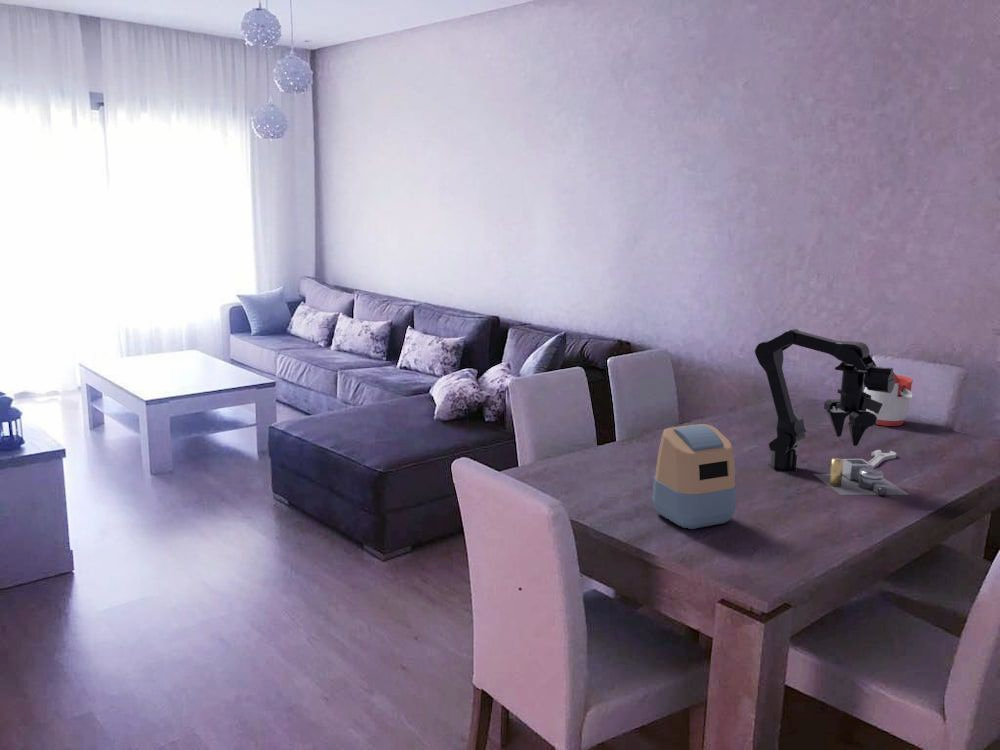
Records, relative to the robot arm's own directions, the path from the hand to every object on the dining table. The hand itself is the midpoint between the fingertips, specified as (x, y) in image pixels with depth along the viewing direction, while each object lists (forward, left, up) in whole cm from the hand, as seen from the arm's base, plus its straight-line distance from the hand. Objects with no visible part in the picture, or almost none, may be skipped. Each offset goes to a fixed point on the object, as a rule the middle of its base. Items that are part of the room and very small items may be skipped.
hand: (846, 441), depth 228 cm
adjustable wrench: (+18, +19, -13) cm, 29 cm away
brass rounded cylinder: (-4, -3, -12) cm, 13 cm away
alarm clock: (-51, -26, -13) cm, 58 cm away
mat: (+4, -2, -12) cm, 13 cm away
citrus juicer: (+46, +65, -13) cm, 81 cm away
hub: (+5, -5, -12) cm, 14 cm away
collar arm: (+5, -3, -12) cm, 13 cm away
